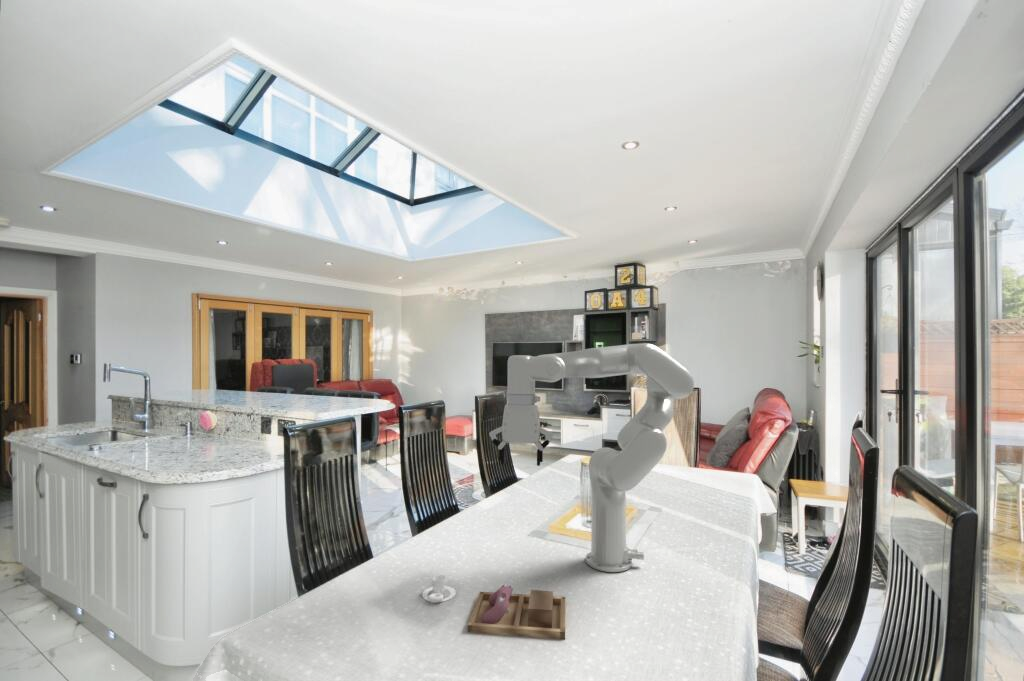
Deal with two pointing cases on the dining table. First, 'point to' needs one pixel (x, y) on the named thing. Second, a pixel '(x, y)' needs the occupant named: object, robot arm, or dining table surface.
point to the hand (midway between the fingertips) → (520, 464)
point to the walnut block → (540, 609)
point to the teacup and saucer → (438, 590)
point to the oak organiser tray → (517, 618)
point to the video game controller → (498, 605)
